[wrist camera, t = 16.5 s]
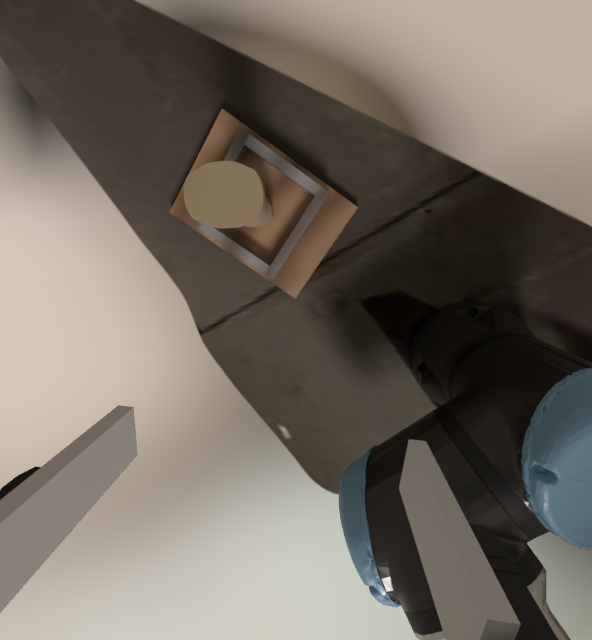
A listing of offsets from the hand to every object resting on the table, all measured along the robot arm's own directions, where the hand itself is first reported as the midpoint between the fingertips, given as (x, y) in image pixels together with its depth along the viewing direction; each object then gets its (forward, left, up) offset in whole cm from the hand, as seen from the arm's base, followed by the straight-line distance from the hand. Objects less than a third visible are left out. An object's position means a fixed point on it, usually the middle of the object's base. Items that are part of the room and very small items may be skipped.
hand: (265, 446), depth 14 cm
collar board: (+12, -8, -29) cm, 32 cm away
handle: (+12, -8, -28) cm, 31 cm away
